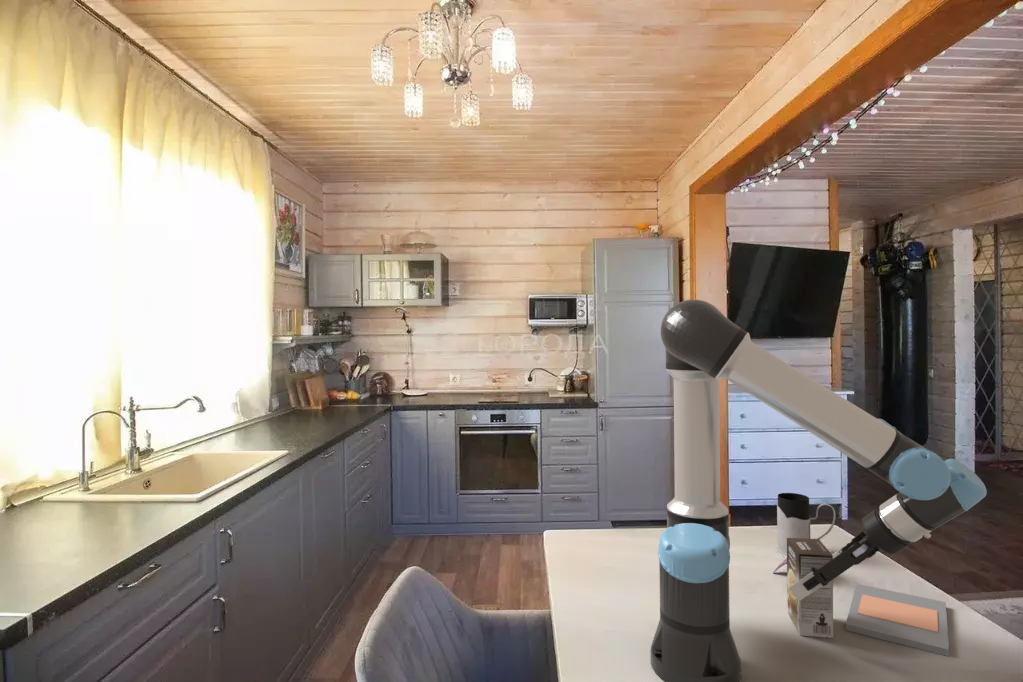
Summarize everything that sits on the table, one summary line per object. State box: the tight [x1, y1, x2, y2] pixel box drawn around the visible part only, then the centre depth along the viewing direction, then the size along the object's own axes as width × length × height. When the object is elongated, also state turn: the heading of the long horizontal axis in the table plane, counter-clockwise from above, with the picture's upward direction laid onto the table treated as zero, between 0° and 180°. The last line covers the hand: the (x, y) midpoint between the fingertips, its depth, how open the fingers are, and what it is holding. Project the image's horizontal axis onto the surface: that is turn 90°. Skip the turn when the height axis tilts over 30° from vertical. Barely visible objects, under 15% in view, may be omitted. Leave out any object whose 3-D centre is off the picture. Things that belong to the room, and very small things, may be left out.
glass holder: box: [775, 492, 836, 556], centre depth 149 cm, size 9×14×15 cm, turn 70°
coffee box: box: [786, 538, 834, 639], centre depth 113 cm, size 9×6×16 cm
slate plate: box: [845, 583, 950, 657], centre depth 115 cm, size 22×16×1 cm
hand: (807, 583), depth 113 cm, fingers open, 13 cm apart
